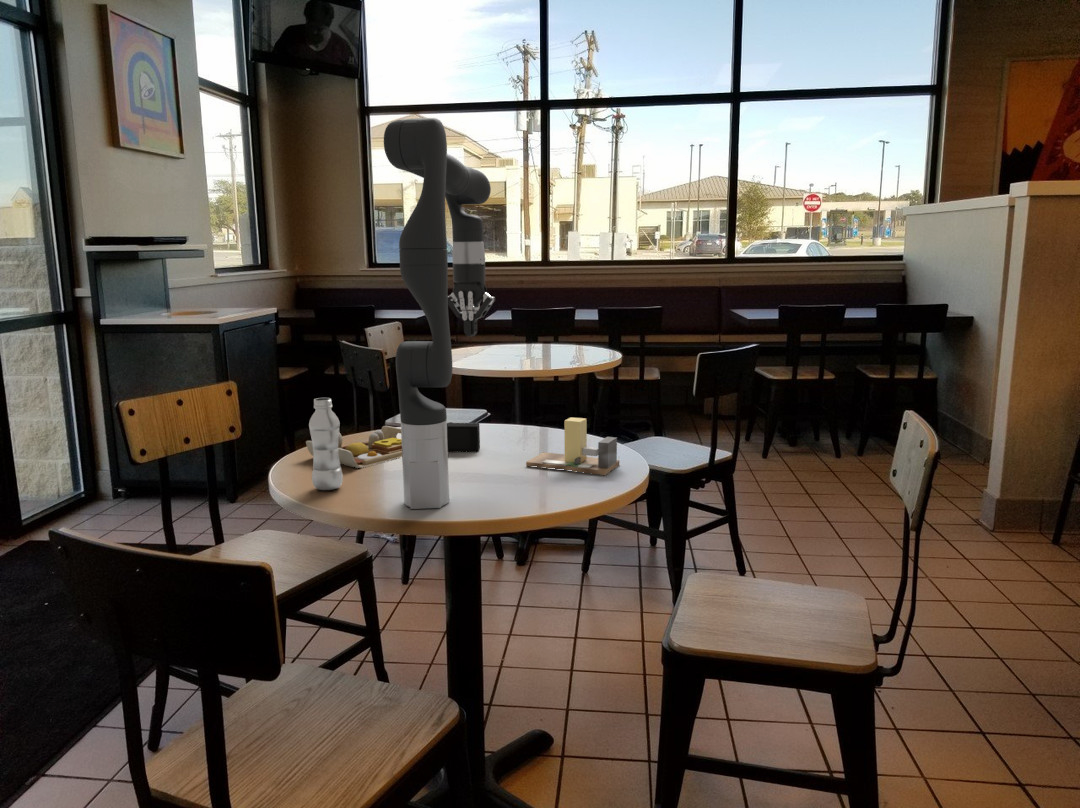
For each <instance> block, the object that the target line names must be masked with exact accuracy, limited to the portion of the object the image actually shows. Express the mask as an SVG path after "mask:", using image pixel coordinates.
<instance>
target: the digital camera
mask: <svg viewBox="0 0 1080 808" xmlns="http://www.w3.org/2000/svg"><path fill="white" fill-rule="evenodd" d="M480 431H481V430H480V422H447V448H448V453H479V451H480V449H481V435H480V434H481V433H480Z"/></svg>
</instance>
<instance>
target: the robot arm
mask: <svg viewBox="0 0 1080 808" xmlns="http://www.w3.org/2000/svg"><path fill="white" fill-rule="evenodd" d="M447 142H448V141H447V135H446V130H445V126H444V124H443V123H442V121H441V120H440V119H439V118H437V117H422V118H421V117H420V118H406V119H405V118H404V119H397V120H394V121H391V122H390V123H389V124H387V126H386V127H385V130H384V134H383V149H384V153H385V155H386V156H385V157H386V159H387V160H388V162H389V163H390V164H391V165H392V166H393V167H394V168H396V169H398V170H401V171H404V172H408V173H410V174H414V175H415V176H418V177H420V178H423V183H422V189H421V193H420V196H419V199H418V200H417V204H416V205H415V207H414V209H413V210H412V213H410V216H409V218H408V220H407V221H406V223H405V225H404V227H403V229H402V231H401V234H400V236H399V237H400V238H399V242H398V243H399V244H398V249H399V250H398V251H399V252H398V253H399V270H400V271H399V272H400V275H401V278H402V281H403V283H404V284H405V286H406V287H407V289H408V291H409V292H410V294H411V295H412V297H413V298H414V300H415V301H416V302H417V303H418V305H419V307H420V308H421V311H422V312H423V314H424V315H425V317H426V320H427V322H428V325H429V328H430V333H431V338H432V341H430V340H429V341H427V340H426V341H425V340H424V341H423V340H422V341H421V340H417V341H416V340H413V341H412V340H411V341H410V340H408V341H402V342H400V343H399V344H398V346H397V348H396V351H395V352H396V353H395V372H396V382H397V391H398V392H397V393H398V406H399V415H400V418H399V419H400V429H401V433H400V436H401V437H400V439H401V440H402V458H401V459H402V461H401V462H402V481H403V502H404V505H405V506H407V507H409V508H410V510H418V509H419V510H420V509H422V510H423V509H441V508H442V506H446V505H447V504H448V503H450V485H449V483H450V479H449V456H448V455H449V454H448V453H449V452H448V448H447V423H448V421H447V408H446V406H444V404H442V403H440V402H438V401H434V400H432V399H430V398H428V397H426V396H425V395H423V394H422V393H421V392H420V391H419V389H418V388H427V389H428V388H429V389H430V388H446V387H448V386H449V385H450V384H451V381H452V378H453V377H452V376H453V353H452V352H453V351H452V341H451V339H452V338H451V331H450V330H451V329H450V322H449V321H450V319H449V308H450V309H451V311H452V312H453V314H454V315H455V317H456V318H459V319H462V321H463V333H464V335H465V336H466V337H475V336H476V335H477V333H478V320H479V319H482V318H485V316H486V315H487V313H488V311H489V310H490V309H491V307H492V306H493V304H494V303H495V302H496V297H495V296H491V295H490V294H489V292H488V291H487V290H488V289H487V286H486V253H485V245H484V222H483V219H482V217H481V216H479V215H475V214H469V213H467V212H465V210H464V208H463V206H468V205H469V206H473V205H482V204H484V203H486V201H488V200H489V198H490V195H491V191H492V189H491V188H492V187H491V184H490V183H491V182H490V181H489V179H488V177H487V176H486V175H485V173H483V172H482V171H480V170H479V169H475V168H472V167H470V166H469V167H468V166H466V165H464V164H463V163H462V162H461V161H460V160H459V159H457V158H456V157H455V156H453V155H451V154H449V153H448V143H447ZM446 204H447V207H448V210H449V214H450V218H451V225H452V278H453V279H452V280H453V284H454V285H453V288H452V292H451V294H448V293H449V291H448V287H449V286H448V285H449V284H448V283H449V282H448V278H449V277H448V276H449V275H448V272H449V271H448V270H449V269H448V267H449V265H448V243H447V242H448V241H447V240H448V239H447V223H446V222H447V221H446ZM480 304H481V305H480Z"/></svg>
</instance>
